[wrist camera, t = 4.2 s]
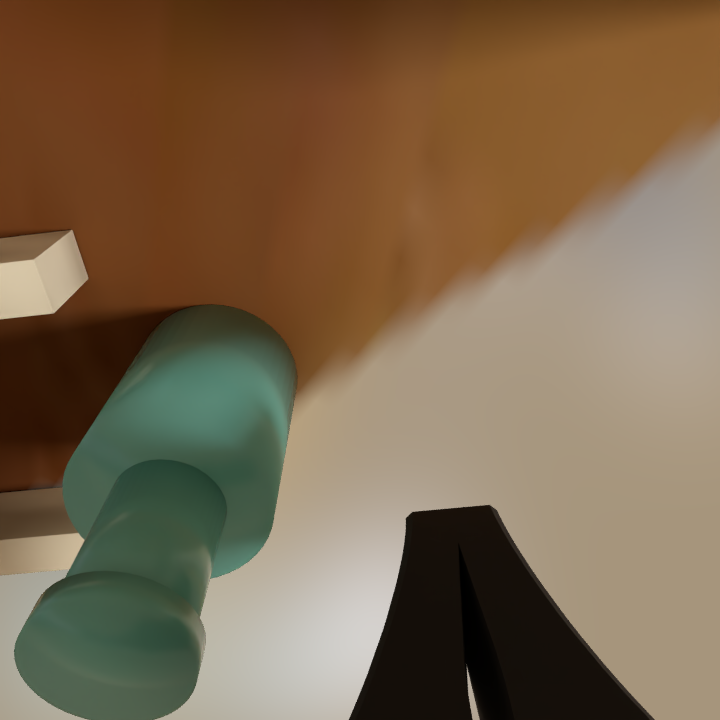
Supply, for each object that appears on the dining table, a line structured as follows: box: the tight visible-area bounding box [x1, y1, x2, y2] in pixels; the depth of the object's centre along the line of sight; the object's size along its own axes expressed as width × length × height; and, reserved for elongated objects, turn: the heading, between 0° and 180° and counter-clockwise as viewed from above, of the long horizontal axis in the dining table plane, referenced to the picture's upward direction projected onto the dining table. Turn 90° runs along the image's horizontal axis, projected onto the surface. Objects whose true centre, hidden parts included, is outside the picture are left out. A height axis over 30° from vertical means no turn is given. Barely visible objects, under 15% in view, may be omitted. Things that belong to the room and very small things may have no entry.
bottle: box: [14, 305, 297, 720], centre depth 13 cm, size 4×4×8 cm
